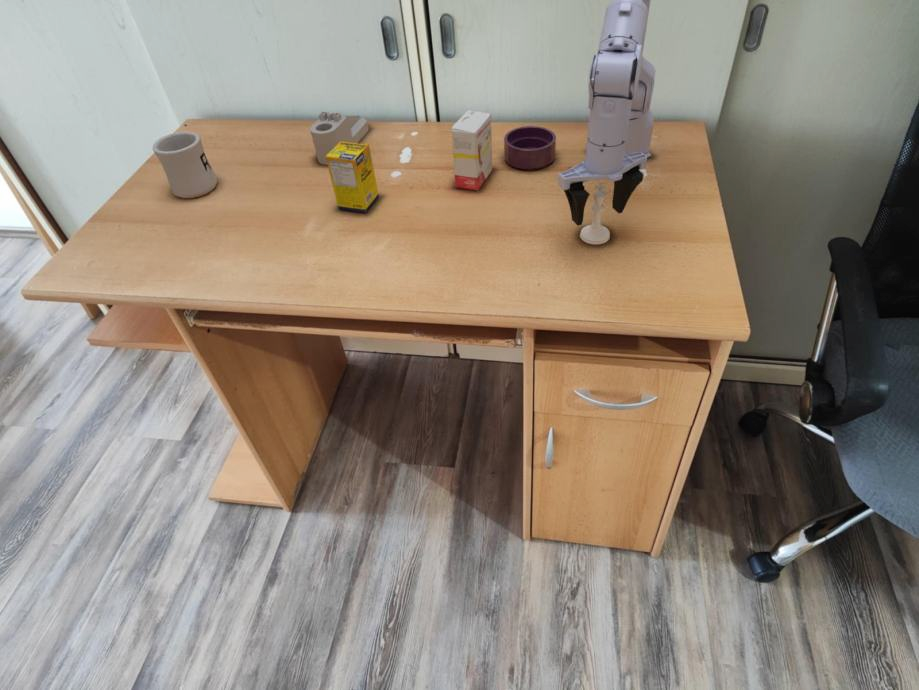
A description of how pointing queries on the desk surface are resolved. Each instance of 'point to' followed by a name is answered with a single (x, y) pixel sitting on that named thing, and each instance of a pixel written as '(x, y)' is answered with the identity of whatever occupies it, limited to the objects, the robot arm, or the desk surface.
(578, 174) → the robot arm
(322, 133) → the angled bracket with hole
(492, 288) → the desk surface
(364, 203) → the supplement box
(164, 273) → the desk surface
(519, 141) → the bowl
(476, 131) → the ink box
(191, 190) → the mug
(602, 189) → the chess piece
